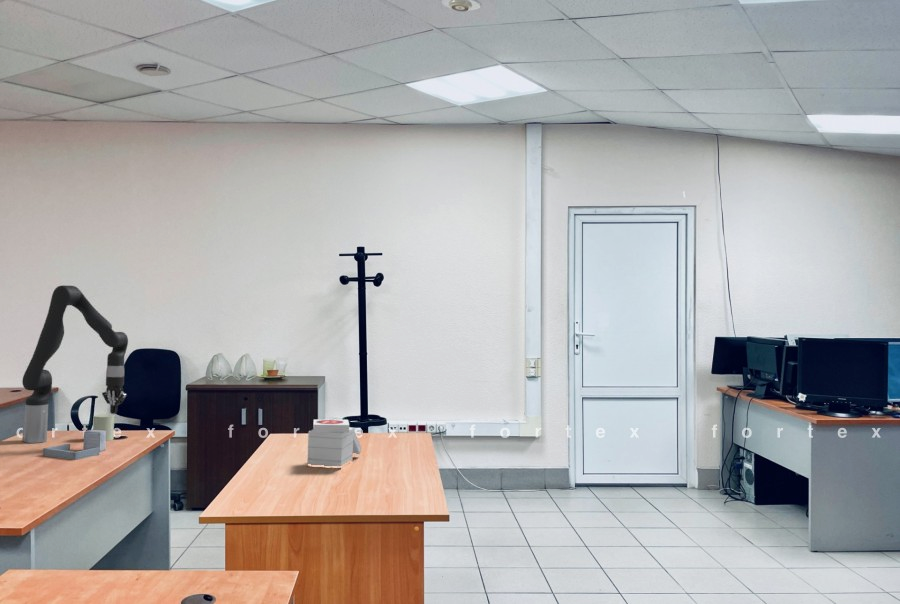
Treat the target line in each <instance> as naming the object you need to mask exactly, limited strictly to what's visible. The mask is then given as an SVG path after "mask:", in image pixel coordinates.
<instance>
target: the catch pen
mask: <svg viewBox="0 0 900 604" xmlns="http://www.w3.org/2000/svg"><path fill="white" fill-rule="evenodd" d="M42 449H43V450H42V456H45V457H52V458H58V459H66V460H71V461H72V460H73V461H76V460H81V459H85V458H91V457H95V456H100V452H101V451H100V448H98V447H97V448H92V449H87V450H83V449H82V450H78V451H71V444H70V443H66V444H65V443H64V444H60V445H55V446H54V445H53V446H49V447H44V448H42ZM99 451H100V452H99Z"/></svg>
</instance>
